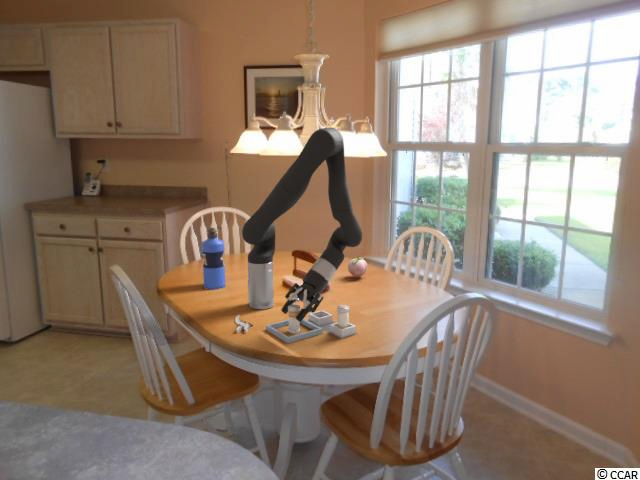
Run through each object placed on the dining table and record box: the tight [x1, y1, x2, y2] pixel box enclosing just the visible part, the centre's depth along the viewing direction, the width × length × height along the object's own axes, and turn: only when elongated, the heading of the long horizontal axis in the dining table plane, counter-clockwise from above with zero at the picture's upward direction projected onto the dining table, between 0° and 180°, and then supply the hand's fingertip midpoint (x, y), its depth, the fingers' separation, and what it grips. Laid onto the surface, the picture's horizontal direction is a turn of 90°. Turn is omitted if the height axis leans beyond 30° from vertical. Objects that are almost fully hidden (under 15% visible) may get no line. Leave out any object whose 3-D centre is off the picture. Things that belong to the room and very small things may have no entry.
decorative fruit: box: [347, 256, 368, 279], centre depth 217 cm, size 9×8×10 cm
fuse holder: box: [306, 310, 359, 340], centre depth 158 cm, size 19×7×4 cm, turn 36°
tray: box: [265, 318, 324, 344], centre depth 155 cm, size 13×13×2 cm
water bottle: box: [200, 227, 226, 290], centre depth 203 cm, size 9×9×25 cm
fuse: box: [336, 304, 350, 329], centre depth 153 cm, size 4×4×8 cm
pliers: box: [234, 314, 254, 334], centre depth 163 cm, size 10×2×15 cm
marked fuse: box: [287, 304, 301, 335], centre depth 154 cm, size 4×4×8 cm
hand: (290, 316), depth 153 cm, fingers open, 8 cm apart
